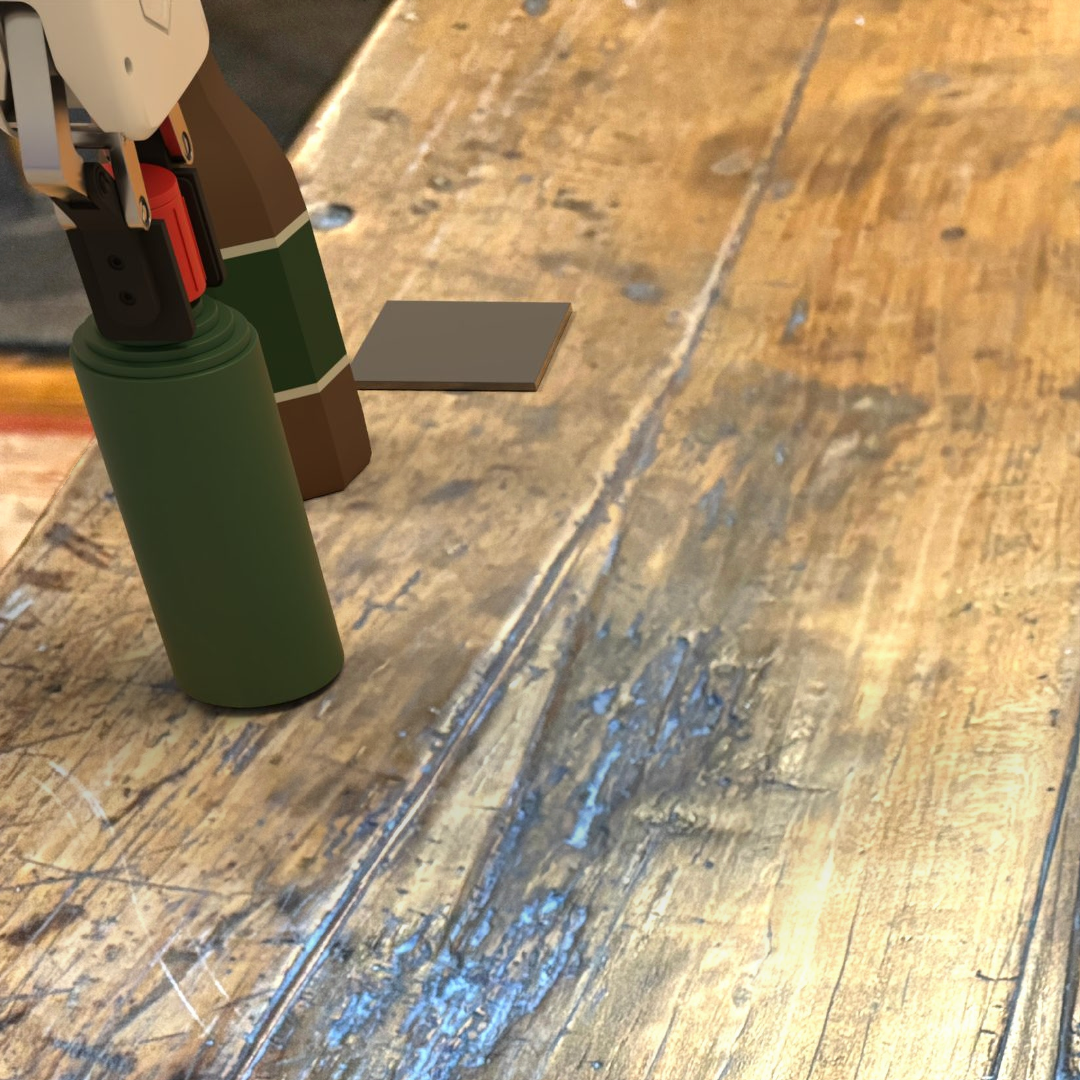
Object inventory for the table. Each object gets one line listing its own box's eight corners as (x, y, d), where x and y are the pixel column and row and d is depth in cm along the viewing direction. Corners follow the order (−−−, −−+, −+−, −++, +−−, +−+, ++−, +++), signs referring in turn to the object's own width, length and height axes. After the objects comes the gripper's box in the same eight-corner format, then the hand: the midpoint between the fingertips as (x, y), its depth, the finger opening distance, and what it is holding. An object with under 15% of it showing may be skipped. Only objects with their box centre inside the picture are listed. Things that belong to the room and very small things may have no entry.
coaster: (342, 389, 119) (340, 380, 118) (388, 308, 125) (386, 300, 125) (536, 391, 119) (534, 382, 119) (572, 310, 125) (571, 302, 125)
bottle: (153, 705, 99) (-6, 232, 86) (201, 622, 103) (57, 160, 90) (321, 710, 99) (188, 240, 86) (362, 627, 103) (241, 168, 90)
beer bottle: (291, 413, 117) (115, -180, 100) (413, 457, 114) (254, -144, 97) (155, 479, 112) (-55, -131, 95) (279, 526, 110) (86, -92, 92)
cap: (191, 315, 89) (160, 207, 86) (76, 312, 89) (41, 203, 86) (218, 269, 92) (189, 163, 89) (106, 267, 91) (73, 160, 89)
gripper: (31, -209, 72) (220, 415, 85) (176, -351, 84) (323, 219, 97) (-246, -216, 72) (-12, 415, 85) (-62, -358, 83) (119, 217, 96)
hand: (165, 305), depth 91 cm, fingers closed on cap, 3 cm apart
